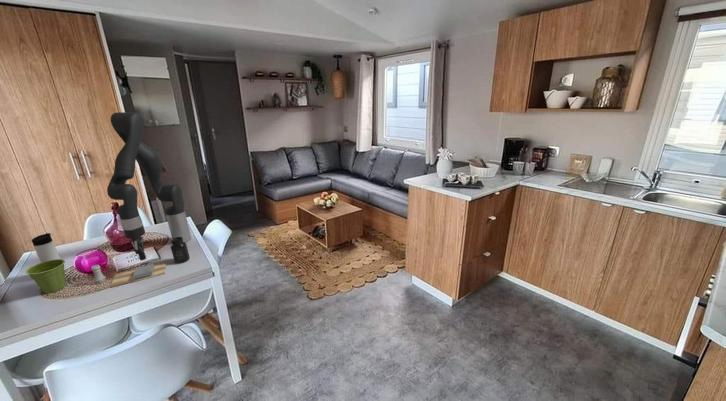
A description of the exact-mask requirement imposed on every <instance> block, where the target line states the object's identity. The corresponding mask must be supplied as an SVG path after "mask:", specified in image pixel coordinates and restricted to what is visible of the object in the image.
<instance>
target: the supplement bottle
mask: <svg viewBox="0 0 726 401" xmlns="http://www.w3.org/2000/svg"><path fill="white" fill-rule="evenodd" d="M170 242H171V245H170V250H171V254H172V257H173V261H174V263H176V264H182V263H186V262H188V261H189V260H190V259H191V258H190V253H189V249H188V246H187V245H188V244H187V242H183V239H182V237H176V238H173V239H172V238H171V239H170Z"/></svg>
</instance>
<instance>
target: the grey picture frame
mask: <svg viewBox="0 0 726 401" xmlns="http://www.w3.org/2000/svg"><path fill="white" fill-rule="evenodd" d="M134 269H135V272H134V274H133V278H134V279H136V278H140V277H144V276H148V275H152V274H153V271H154V263H153V264H148V265H143V266H139V267H135V268H134Z"/></svg>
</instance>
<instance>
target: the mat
mask: <svg viewBox="0 0 726 401" xmlns="http://www.w3.org/2000/svg"><path fill="white" fill-rule="evenodd" d="M153 264H154V263H153ZM166 266H167V261H162V262H158V263H155V264H154V271H153V274H152V275H148V276H144V277H140V278H136V279H134V278H133V274H134V272H135V269H136V268H134V269H130V270H125V271H121V272H117V273H115V274H114V277H113V279H112V282H111V284H110V289H112V288H116V287H120V286H124V285H128V284H132V283H135V282H139V281H143V280H147V279H151V278H155V277H159V276H162V275H165V273H166Z"/></svg>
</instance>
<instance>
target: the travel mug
mask: <svg viewBox="0 0 726 401" xmlns="http://www.w3.org/2000/svg"><path fill="white" fill-rule="evenodd" d="M51 235H52V233H50V232H47V233H45V234H40V235H37V236H35V237H33V238H32V239H31V243H32V246H33V249H35V253H36V255H37V257H38V259H39V262H40V263H42V262H46V261H50V260H56V259H61V257H60V254H59V252H58V248H57V247H56V245H55V242H54V240H53V238H52V236H51ZM64 273H66V269H65V268H64Z"/></svg>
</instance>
